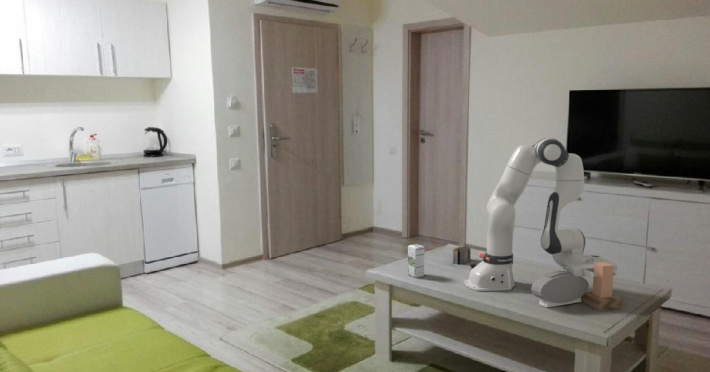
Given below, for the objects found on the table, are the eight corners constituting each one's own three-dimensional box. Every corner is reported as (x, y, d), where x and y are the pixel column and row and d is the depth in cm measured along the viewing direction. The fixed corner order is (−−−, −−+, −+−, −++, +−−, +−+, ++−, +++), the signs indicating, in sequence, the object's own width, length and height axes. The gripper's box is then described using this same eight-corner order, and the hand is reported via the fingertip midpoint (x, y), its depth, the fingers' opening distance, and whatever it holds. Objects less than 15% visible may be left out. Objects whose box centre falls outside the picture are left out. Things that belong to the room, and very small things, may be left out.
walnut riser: (599, 311, 210) (600, 301, 209) (582, 302, 220) (583, 292, 219) (621, 308, 212) (621, 298, 212) (603, 299, 222) (604, 290, 221)
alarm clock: (578, 297, 225) (577, 266, 224) (589, 300, 219) (588, 269, 218) (531, 305, 217) (530, 273, 217) (541, 308, 211) (540, 276, 211)
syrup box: (424, 275, 256) (425, 245, 254) (415, 278, 252) (415, 247, 250) (416, 272, 260) (416, 243, 258) (407, 275, 257) (407, 245, 255)
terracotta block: (601, 298, 212) (602, 266, 210) (592, 294, 217) (594, 262, 215) (611, 297, 214) (613, 265, 212) (603, 292, 218) (604, 261, 217)
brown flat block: (457, 265, 273) (458, 246, 272) (453, 264, 275) (453, 245, 274) (471, 260, 281) (471, 242, 279) (466, 259, 283) (466, 241, 282)
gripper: (560, 259, 223) (582, 268, 210) (602, 255, 229) (627, 264, 215) (559, 274, 224) (581, 284, 211) (602, 269, 229) (626, 279, 216)
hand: (605, 274), depth 213 cm, fingers open, 8 cm apart
